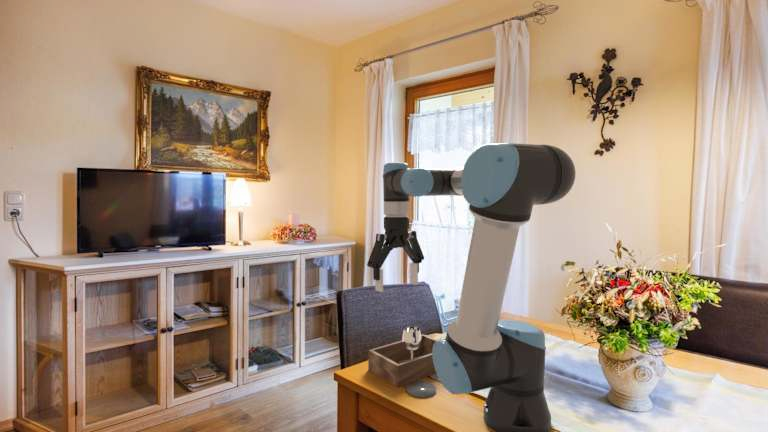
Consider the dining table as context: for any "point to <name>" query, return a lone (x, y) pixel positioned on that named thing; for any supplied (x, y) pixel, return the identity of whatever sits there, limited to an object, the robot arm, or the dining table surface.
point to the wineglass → (411, 339)
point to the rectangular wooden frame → (406, 372)
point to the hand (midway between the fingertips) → (397, 287)
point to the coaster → (421, 389)
